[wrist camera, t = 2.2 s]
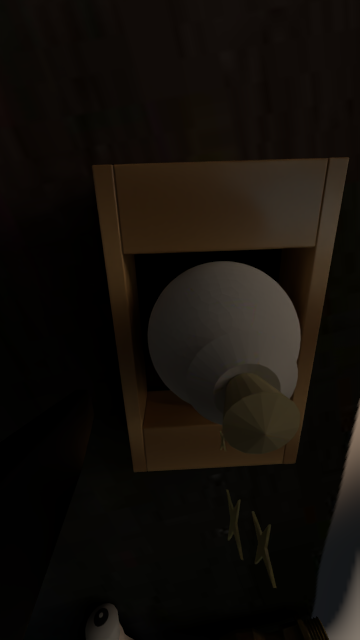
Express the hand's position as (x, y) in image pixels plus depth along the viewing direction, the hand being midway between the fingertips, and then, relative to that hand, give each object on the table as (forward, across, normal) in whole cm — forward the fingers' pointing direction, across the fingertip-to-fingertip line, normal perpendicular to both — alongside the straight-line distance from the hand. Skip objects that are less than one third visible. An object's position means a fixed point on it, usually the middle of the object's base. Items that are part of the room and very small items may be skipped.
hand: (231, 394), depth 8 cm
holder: (+6, 0, 0) cm, 6 cm away
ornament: (+6, 0, 0) cm, 6 cm away
